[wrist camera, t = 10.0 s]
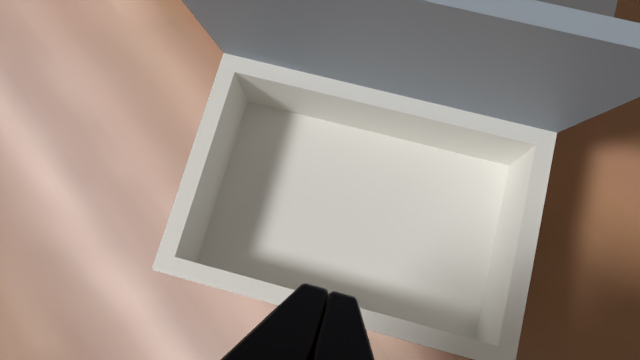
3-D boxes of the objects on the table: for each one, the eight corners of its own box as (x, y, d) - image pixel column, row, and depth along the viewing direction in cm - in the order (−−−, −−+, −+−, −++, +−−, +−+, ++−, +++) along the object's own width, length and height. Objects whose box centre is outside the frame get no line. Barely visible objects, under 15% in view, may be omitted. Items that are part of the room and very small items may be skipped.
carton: (483, 358, 20) (513, 370, 17) (181, 274, 21) (151, 269, 18) (522, 159, 22) (557, 132, 18) (240, 90, 23) (223, 53, 19)
